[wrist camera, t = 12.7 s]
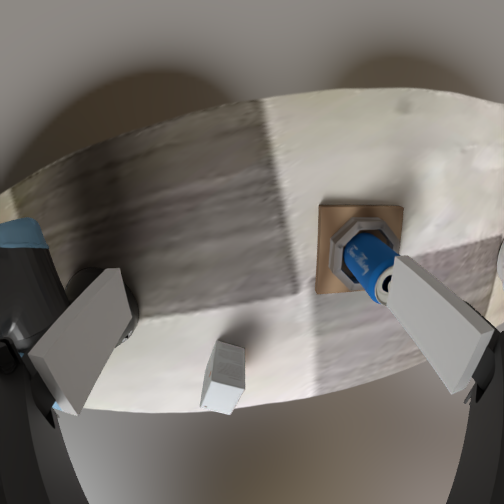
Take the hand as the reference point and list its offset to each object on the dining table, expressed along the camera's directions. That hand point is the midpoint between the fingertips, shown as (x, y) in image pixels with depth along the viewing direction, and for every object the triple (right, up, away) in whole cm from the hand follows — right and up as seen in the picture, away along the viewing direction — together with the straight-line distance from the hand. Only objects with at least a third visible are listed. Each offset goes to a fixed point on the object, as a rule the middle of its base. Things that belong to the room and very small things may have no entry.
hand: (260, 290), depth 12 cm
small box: (-6, -18, +38) cm, 42 cm away
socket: (+17, +2, +30) cm, 35 cm away
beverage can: (+16, +2, +29) cm, 33 cm away
